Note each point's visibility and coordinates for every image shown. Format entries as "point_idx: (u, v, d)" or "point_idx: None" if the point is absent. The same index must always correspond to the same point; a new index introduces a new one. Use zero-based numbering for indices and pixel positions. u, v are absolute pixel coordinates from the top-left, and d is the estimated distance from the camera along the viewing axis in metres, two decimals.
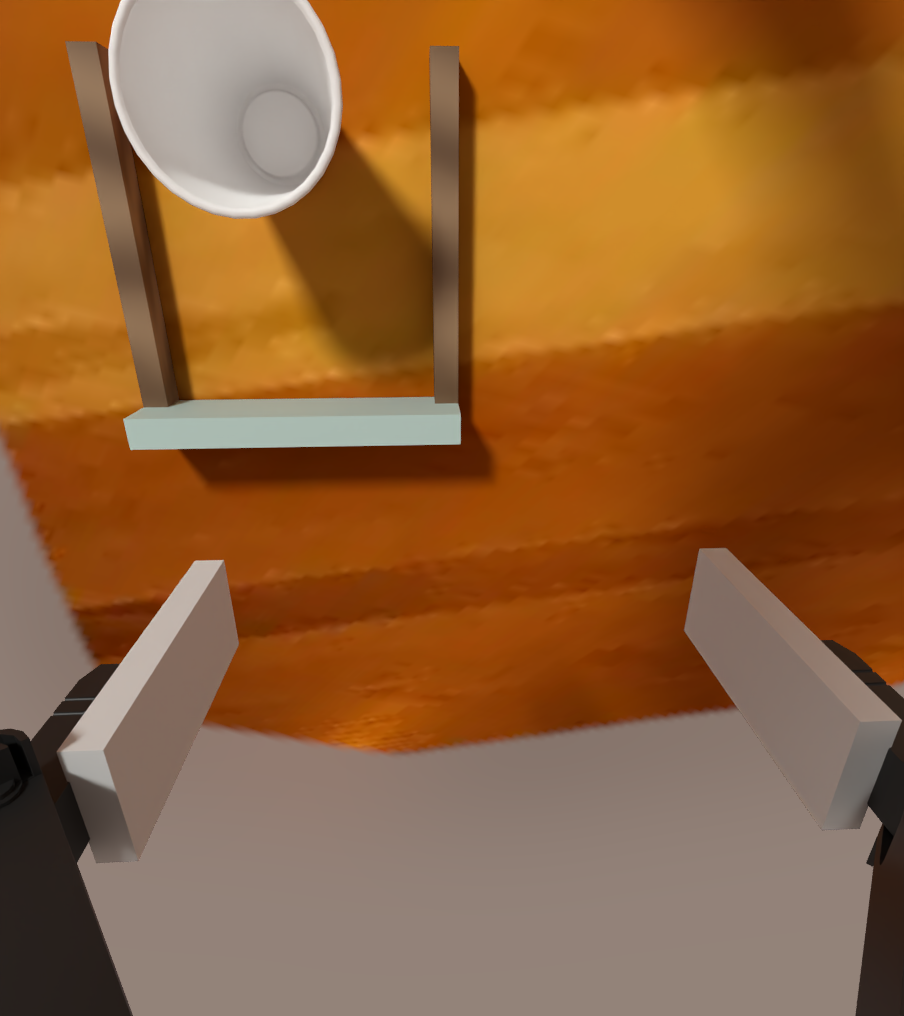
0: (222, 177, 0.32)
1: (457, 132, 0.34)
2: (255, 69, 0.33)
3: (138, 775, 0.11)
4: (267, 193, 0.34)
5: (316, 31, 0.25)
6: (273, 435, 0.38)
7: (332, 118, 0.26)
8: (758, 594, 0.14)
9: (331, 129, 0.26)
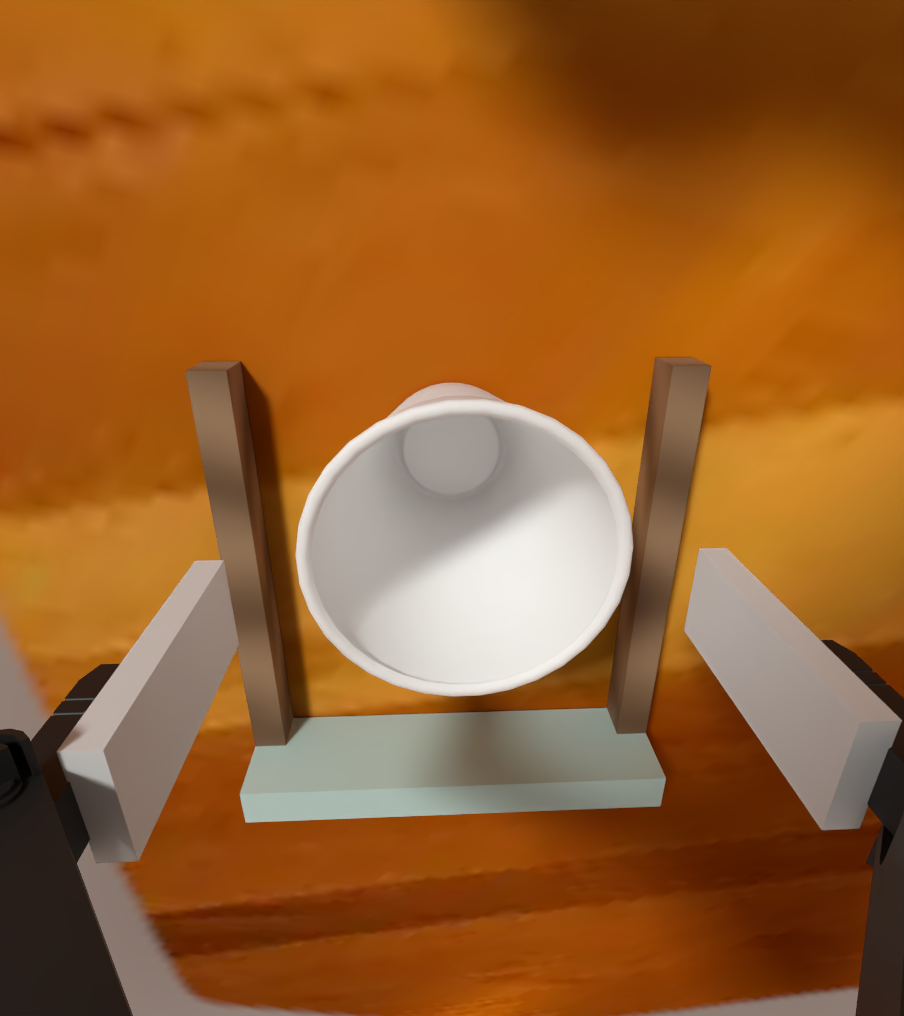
0: (395, 549, 0.24)
1: (693, 459, 0.26)
2: None
3: (138, 775, 0.11)
4: (443, 545, 0.26)
5: (610, 495, 0.17)
6: (427, 803, 0.30)
7: (613, 590, 0.18)
8: (758, 594, 0.14)
9: (608, 601, 0.18)
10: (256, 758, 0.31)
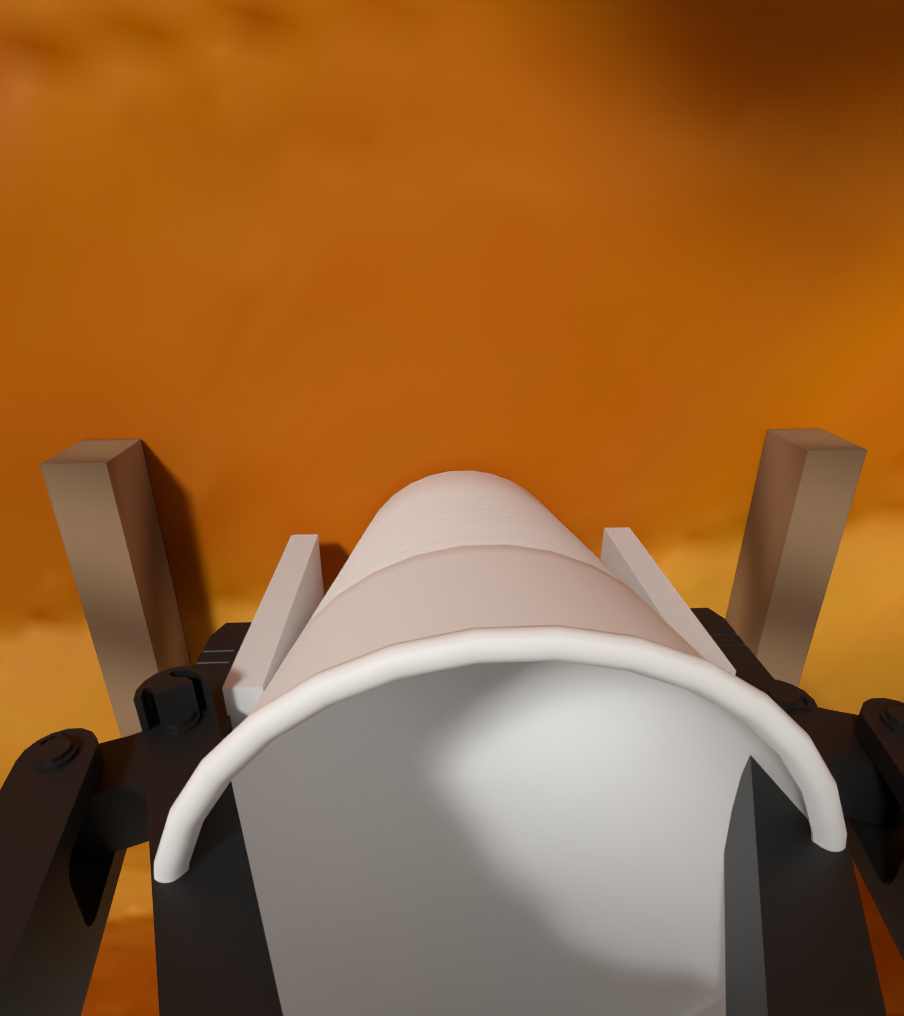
0: (376, 743, 0.15)
1: (825, 583, 0.17)
2: None
3: None
4: (451, 718, 0.17)
5: (812, 798, 0.08)
6: None
7: None
8: (645, 567, 0.15)
9: None
10: None
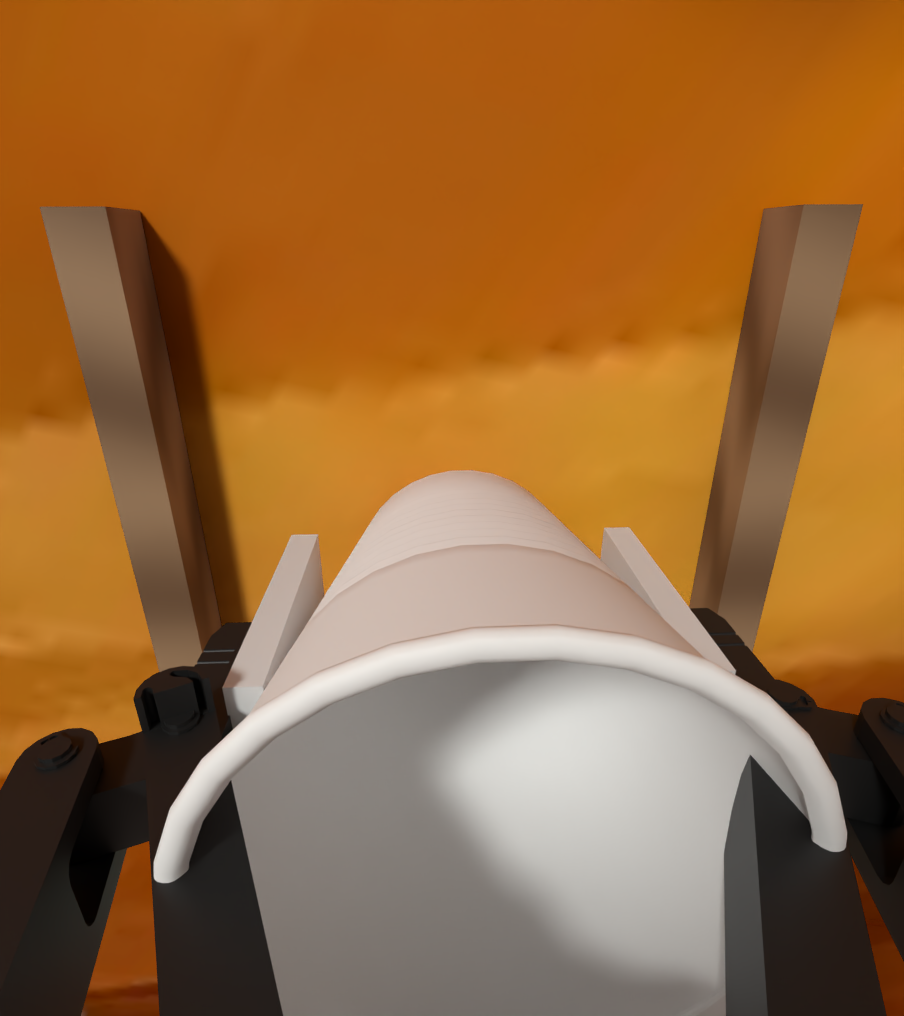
0: (375, 743, 0.15)
1: (821, 360, 0.17)
2: None
3: None
4: (451, 718, 0.17)
5: (813, 797, 0.08)
6: None
7: None
8: (645, 567, 0.15)
9: None
10: None
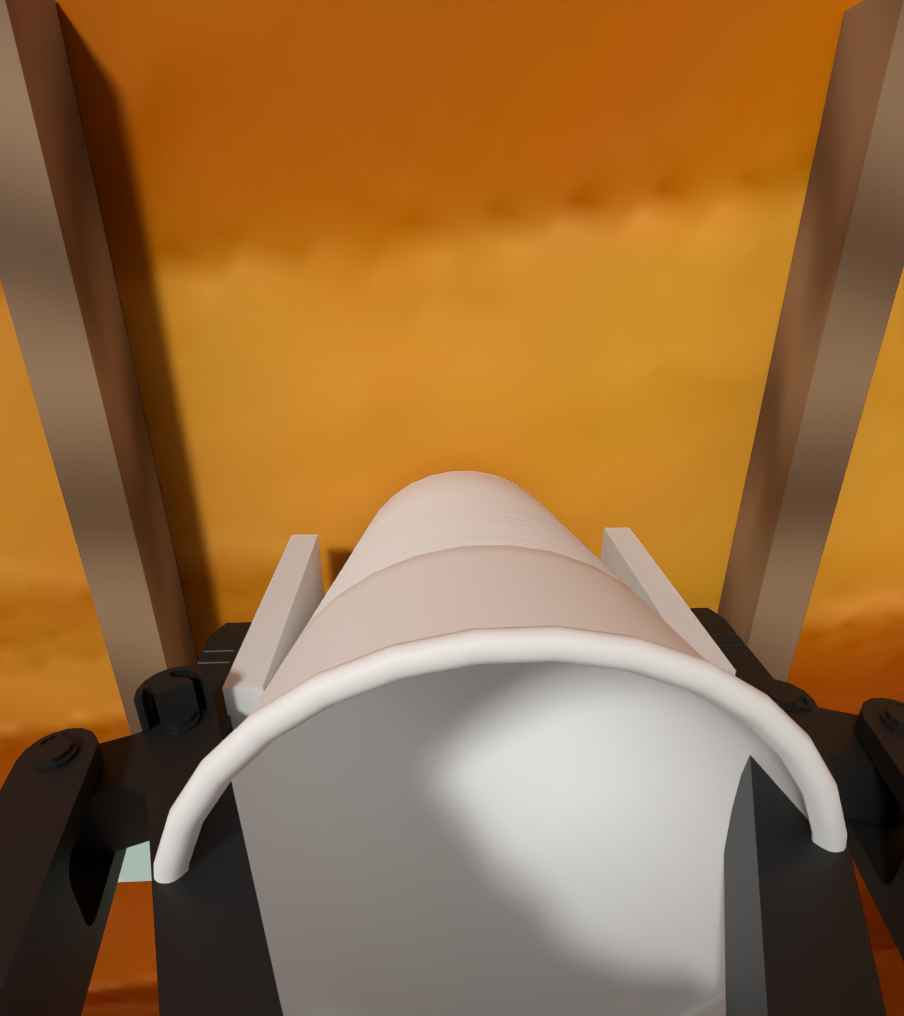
0: (375, 744, 0.15)
1: None
2: None
3: None
4: (451, 718, 0.17)
5: (813, 798, 0.08)
6: None
7: None
8: (645, 567, 0.15)
9: None
10: None
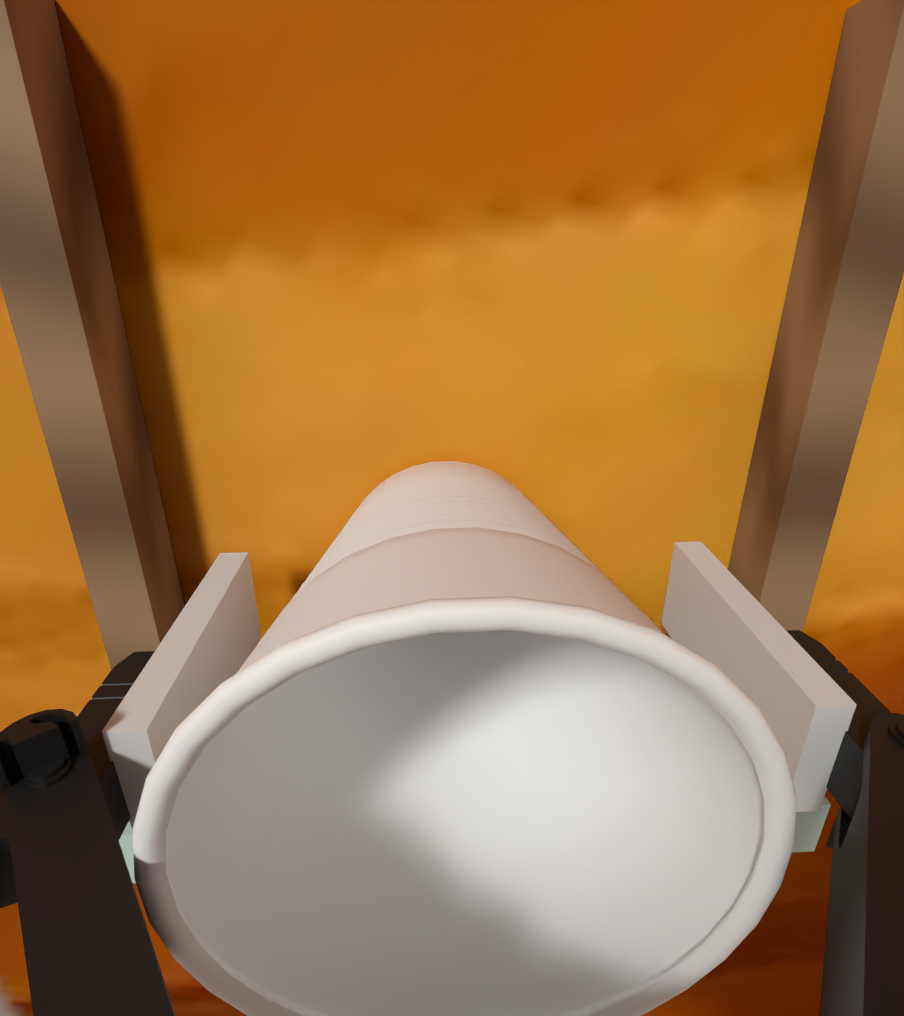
0: (359, 727, 0.15)
1: None
2: None
3: None
4: (434, 703, 0.17)
5: (762, 764, 0.08)
6: None
7: (748, 906, 0.10)
8: (728, 586, 0.14)
9: (737, 922, 0.10)
10: None
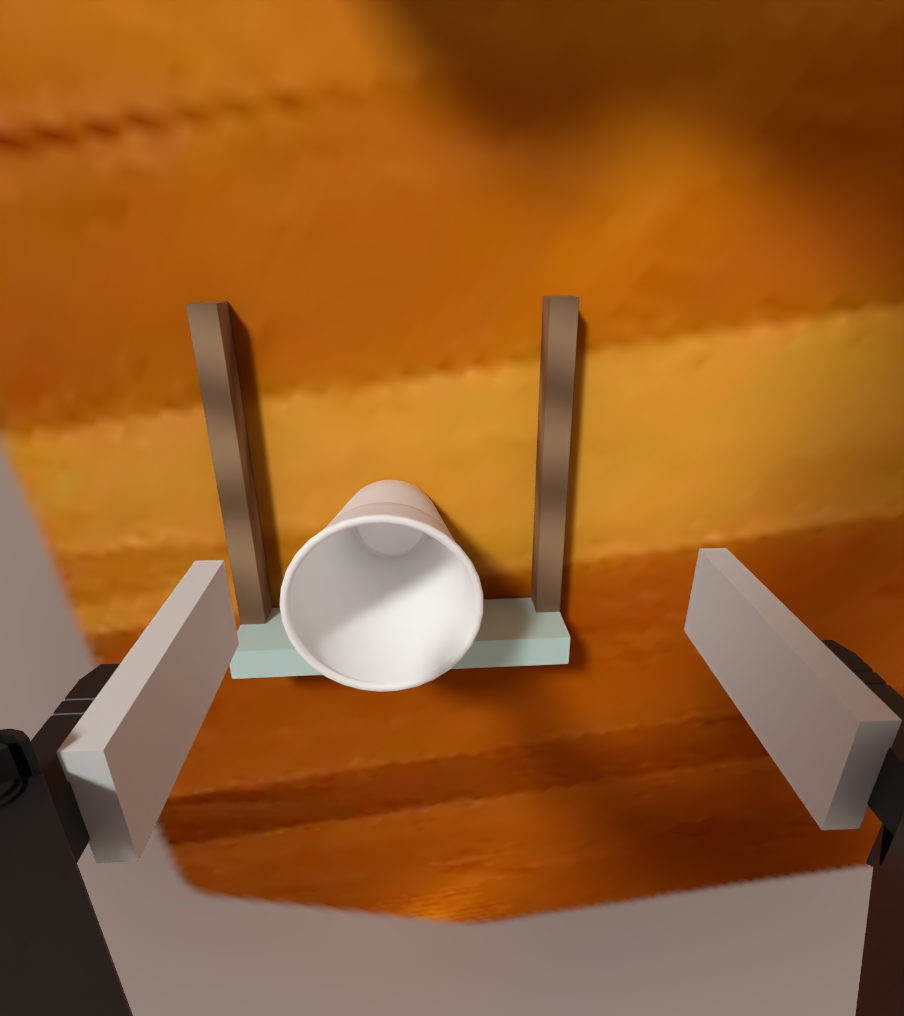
0: (349, 596, 0.35)
1: (573, 372, 0.34)
2: None
3: (138, 775, 0.11)
4: (385, 592, 0.37)
5: (465, 565, 0.28)
6: None
7: (474, 621, 0.29)
8: (758, 594, 0.14)
9: (472, 628, 0.30)
10: (241, 631, 0.38)
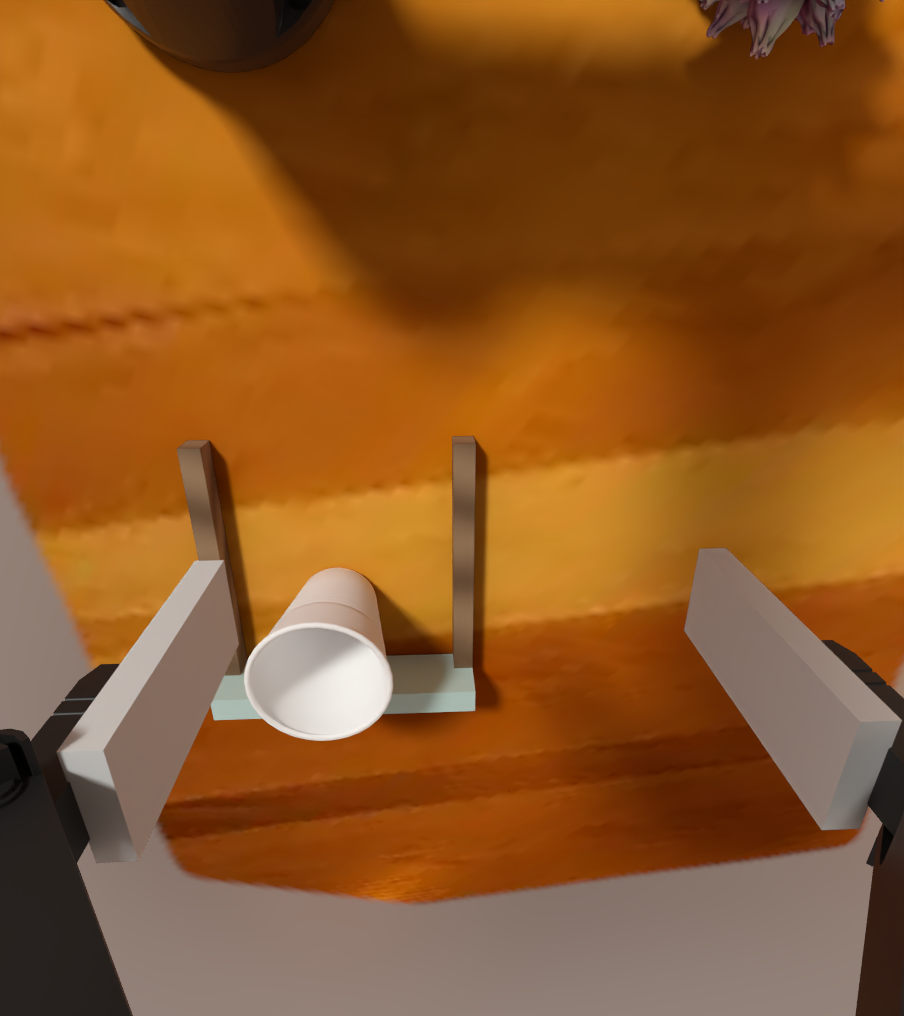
0: (303, 661, 0.46)
1: (474, 496, 0.44)
2: None
3: (138, 775, 0.11)
4: (332, 655, 0.48)
5: (377, 656, 0.39)
6: None
7: (386, 693, 0.40)
8: (758, 594, 0.14)
9: (385, 698, 0.40)
10: (221, 682, 0.49)
